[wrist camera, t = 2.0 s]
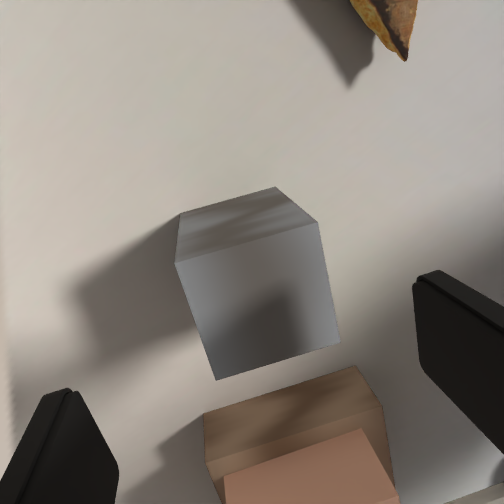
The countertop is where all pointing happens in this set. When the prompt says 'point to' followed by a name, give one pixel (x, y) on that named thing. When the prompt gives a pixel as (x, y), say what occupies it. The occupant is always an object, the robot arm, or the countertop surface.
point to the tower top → (316, 476)
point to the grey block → (255, 281)
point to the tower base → (293, 423)
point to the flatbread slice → (389, 21)
